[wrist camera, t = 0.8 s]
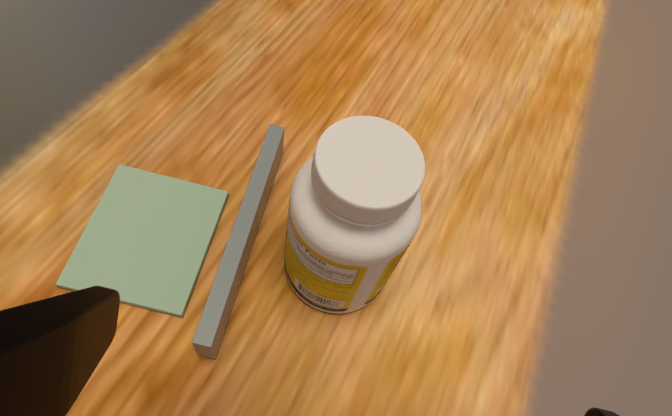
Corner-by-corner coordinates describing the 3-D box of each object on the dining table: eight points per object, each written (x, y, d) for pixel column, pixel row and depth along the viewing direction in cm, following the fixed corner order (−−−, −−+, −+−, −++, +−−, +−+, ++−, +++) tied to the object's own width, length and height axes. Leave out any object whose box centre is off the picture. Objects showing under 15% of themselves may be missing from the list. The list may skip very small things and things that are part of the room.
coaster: (182, 317, 23) (181, 315, 23) (58, 287, 23) (55, 284, 22) (228, 195, 26) (228, 191, 26) (121, 168, 26) (119, 164, 26)
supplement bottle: (366, 211, 27) (415, 91, 19) (399, 301, 25) (472, 211, 16) (271, 230, 26) (278, 110, 17) (297, 328, 23) (319, 245, 15)
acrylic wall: (215, 359, 22) (210, 347, 20) (198, 355, 22) (191, 342, 20) (282, 154, 28) (284, 127, 26) (268, 150, 28) (269, 123, 26)
